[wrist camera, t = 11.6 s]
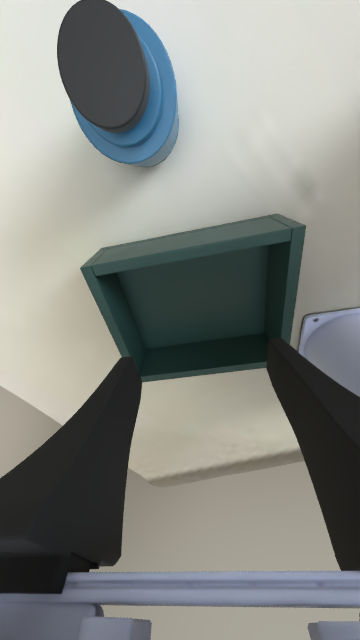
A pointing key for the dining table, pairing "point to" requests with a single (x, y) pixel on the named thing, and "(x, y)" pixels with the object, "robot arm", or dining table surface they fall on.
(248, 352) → the bin
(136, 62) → the bottle
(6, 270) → the dining table surface
